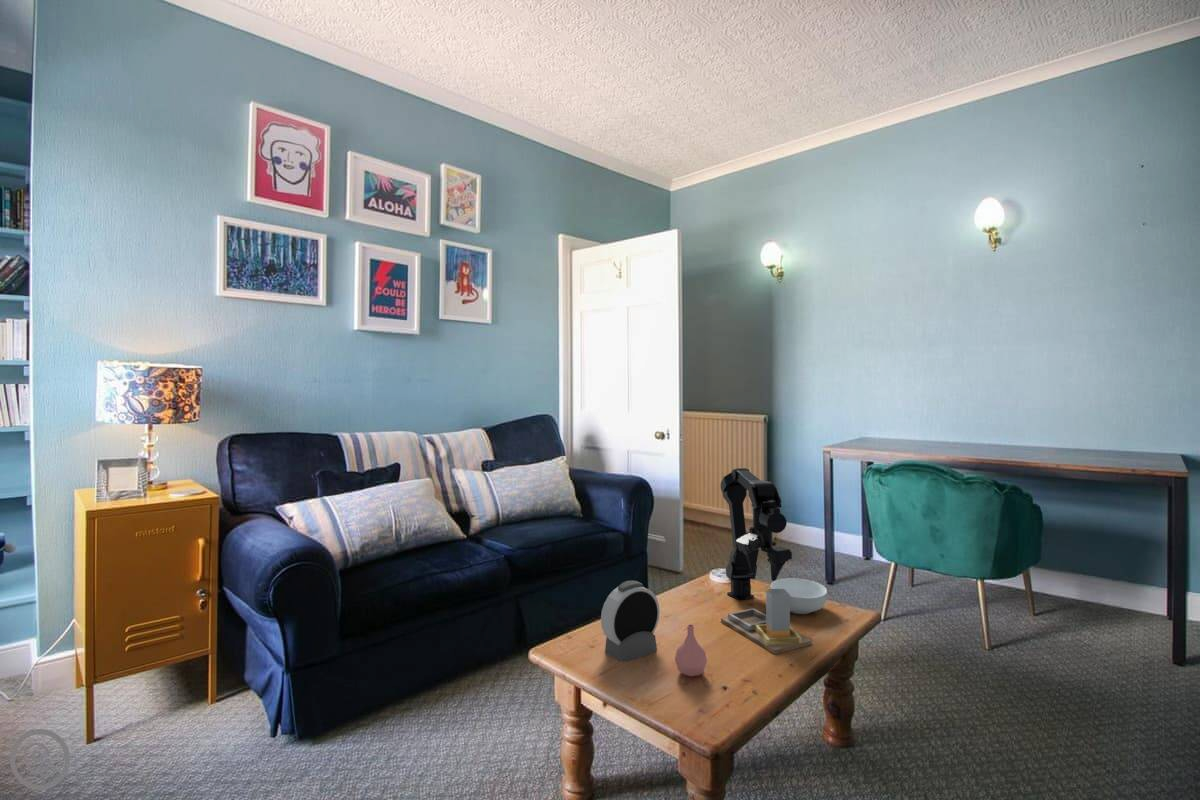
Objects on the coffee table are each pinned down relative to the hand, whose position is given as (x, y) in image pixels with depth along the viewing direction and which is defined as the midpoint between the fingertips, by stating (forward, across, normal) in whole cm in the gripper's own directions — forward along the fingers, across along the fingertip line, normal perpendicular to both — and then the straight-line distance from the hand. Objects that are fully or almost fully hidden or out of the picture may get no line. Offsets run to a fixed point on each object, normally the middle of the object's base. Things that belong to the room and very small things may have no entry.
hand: (762, 576), depth 175 cm
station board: (+13, +7, -6) cm, 16 cm away
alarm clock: (+13, 0, -45) cm, 47 cm away
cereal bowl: (+13, -1, +15) cm, 20 cm away
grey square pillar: (+12, +13, -6) cm, 19 cm away
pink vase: (+13, +18, -38) cm, 44 cm away
